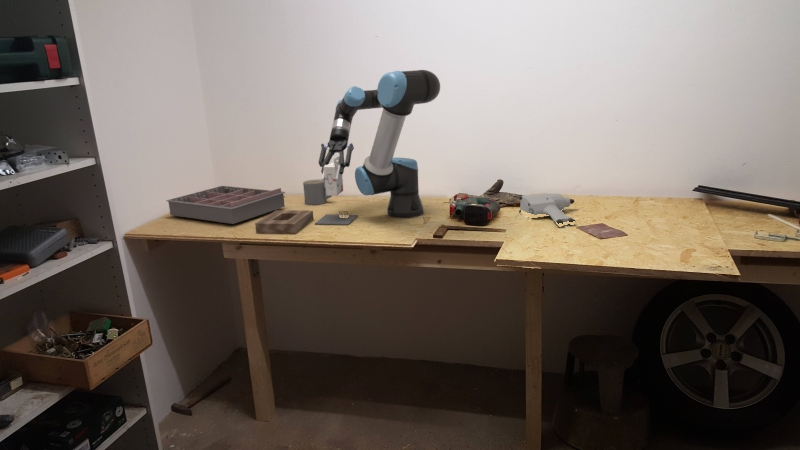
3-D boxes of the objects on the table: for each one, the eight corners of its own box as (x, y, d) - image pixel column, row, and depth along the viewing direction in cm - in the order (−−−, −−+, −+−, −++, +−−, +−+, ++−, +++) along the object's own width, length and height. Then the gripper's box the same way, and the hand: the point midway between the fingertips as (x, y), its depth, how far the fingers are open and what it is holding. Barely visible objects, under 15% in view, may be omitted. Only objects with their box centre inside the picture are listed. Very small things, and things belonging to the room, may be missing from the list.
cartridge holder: (313, 220, 241) (312, 210, 240) (295, 234, 222) (294, 223, 221) (277, 219, 244) (276, 210, 243) (256, 233, 225) (255, 223, 224)
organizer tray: (224, 201, 282) (221, 181, 279) (287, 209, 262) (285, 187, 259) (168, 218, 256) (164, 196, 253) (233, 228, 235) (230, 203, 233)
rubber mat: (358, 216, 244) (358, 214, 244) (348, 225, 231) (348, 223, 230) (326, 215, 247) (326, 214, 247) (314, 224, 234) (314, 223, 233)
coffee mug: (301, 204, 268) (298, 183, 265) (312, 199, 277) (310, 179, 274) (326, 206, 263) (325, 184, 260) (337, 201, 272) (335, 179, 269)
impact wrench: (606, 215, 218) (569, 187, 239) (552, 223, 212) (519, 193, 232) (601, 234, 222) (565, 205, 243) (549, 242, 216) (516, 212, 236)
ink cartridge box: (332, 190, 240) (329, 155, 236) (343, 190, 239) (341, 155, 235) (325, 195, 232) (322, 159, 228) (337, 195, 231) (334, 158, 227)
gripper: (363, 138, 243) (354, 185, 232) (322, 138, 247) (311, 185, 236) (359, 126, 236) (350, 175, 226) (316, 127, 240) (305, 175, 229)
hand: (330, 180), depth 231 cm, fingers closed on ink cartridge box, 5 cm apart
